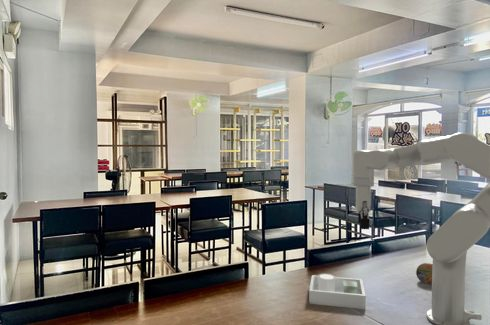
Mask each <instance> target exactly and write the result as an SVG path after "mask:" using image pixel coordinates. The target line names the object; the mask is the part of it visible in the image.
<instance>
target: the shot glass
mask: <svg viewBox="0 0 490 325" xmlns="http://www.w3.org/2000/svg"><path fill="white" fill-rule="evenodd" d="M317 276H318V284H319V290H320V291H331V292H334V289H335V279H336V277H337V276H335V275H334V274H332V273H320V274H318V275H317Z"/></svg>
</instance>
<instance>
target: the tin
mask: <svg viewBox="0 0 490 325" xmlns="http://www.w3.org/2000/svg"><path fill="white" fill-rule="evenodd" d="M432 264H433V263H428V262H427V263H426V262H424V263H421V264H419V265H418V266H417V267H416V272H415V274H416V277H417V279H418V280H419V281H420V282H421V283H423V284H427V285H432Z"/></svg>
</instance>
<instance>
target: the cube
mask: <svg viewBox="0 0 490 325" xmlns="http://www.w3.org/2000/svg"><path fill="white" fill-rule="evenodd" d="M343 293H353V294H357V282H353V281H343Z"/></svg>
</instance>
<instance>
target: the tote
mask: <svg viewBox="0 0 490 325" xmlns="http://www.w3.org/2000/svg"><path fill="white" fill-rule="evenodd" d="M335 277H336V279H335V289H334V292H331V291H320V290H319V284H318V275H316V274H314V275H313V274H312V275H311V279H310V285H309V290H308V292H309V294H308V296H309V297H308V300H309V301H308V303H309V304H310V305H319V306H329V307H339V308H348V309H356V310H357V309H359V310H366V309H367V308H366V291H365V287H364V282H363V279H362V278H353V277H343V276H342V277H341V276H340V277H339V276H335ZM343 281H353V282H357V294H353V293H343Z"/></svg>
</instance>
